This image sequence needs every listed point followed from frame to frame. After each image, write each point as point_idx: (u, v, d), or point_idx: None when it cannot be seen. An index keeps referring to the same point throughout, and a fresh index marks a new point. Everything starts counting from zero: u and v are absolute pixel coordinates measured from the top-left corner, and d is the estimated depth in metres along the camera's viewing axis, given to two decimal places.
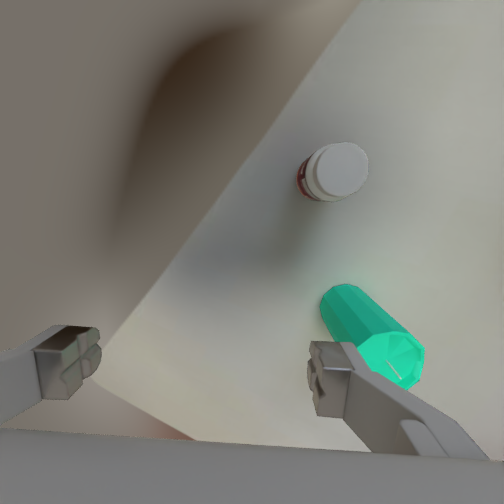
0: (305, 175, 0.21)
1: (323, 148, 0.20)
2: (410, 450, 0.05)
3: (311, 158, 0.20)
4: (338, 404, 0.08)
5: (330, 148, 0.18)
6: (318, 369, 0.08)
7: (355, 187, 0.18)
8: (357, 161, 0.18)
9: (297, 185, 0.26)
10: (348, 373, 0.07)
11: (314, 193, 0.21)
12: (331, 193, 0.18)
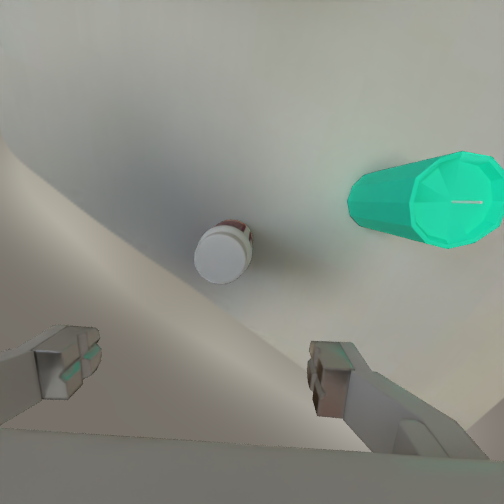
0: None
1: None
2: (410, 450, 0.05)
3: None
4: (338, 404, 0.08)
5: (200, 273, 0.18)
6: (318, 369, 0.08)
7: (236, 246, 0.18)
8: (211, 246, 0.18)
9: None
10: (348, 373, 0.07)
11: (244, 270, 0.20)
12: (242, 269, 0.18)
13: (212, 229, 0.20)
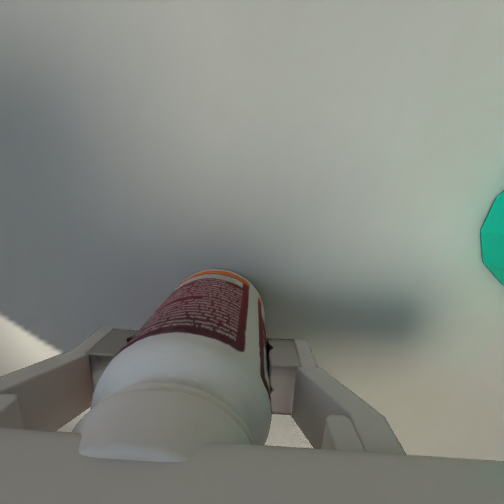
0: None
1: None
2: (331, 444, 0.05)
3: None
4: (287, 400, 0.08)
5: None
6: None
7: None
8: None
9: None
10: (294, 370, 0.07)
11: None
12: None
13: (136, 353, 0.06)
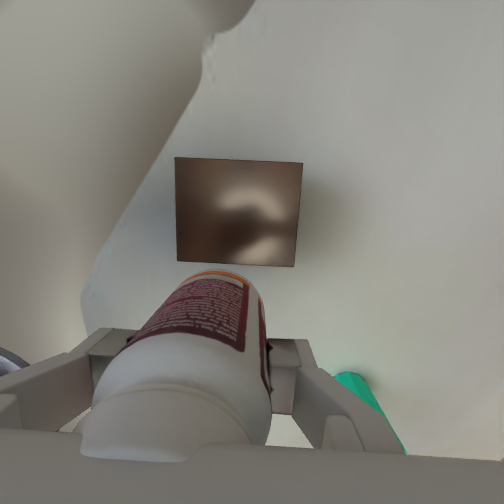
0: None
1: None
2: (331, 445, 0.05)
3: None
4: (288, 401, 0.08)
5: None
6: (268, 366, 0.08)
7: None
8: None
9: None
10: (294, 370, 0.07)
11: None
12: None
13: (136, 353, 0.06)
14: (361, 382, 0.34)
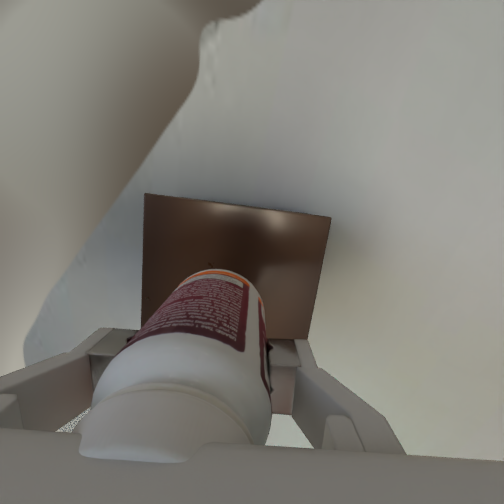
0: None
1: None
2: (331, 445, 0.05)
3: None
4: (288, 401, 0.08)
5: None
6: None
7: None
8: None
9: None
10: (294, 370, 0.07)
11: None
12: None
13: (136, 353, 0.06)
14: None
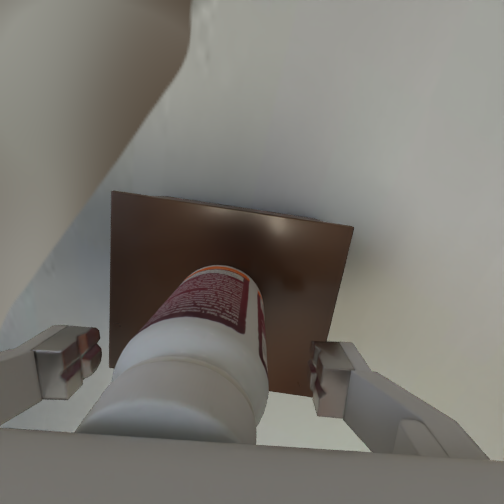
0: None
1: None
2: (410, 450, 0.05)
3: None
4: (338, 404, 0.08)
5: None
6: (318, 369, 0.08)
7: (218, 441, 0.05)
8: None
9: None
10: (348, 373, 0.07)
11: None
12: None
13: (151, 334, 0.07)
14: None
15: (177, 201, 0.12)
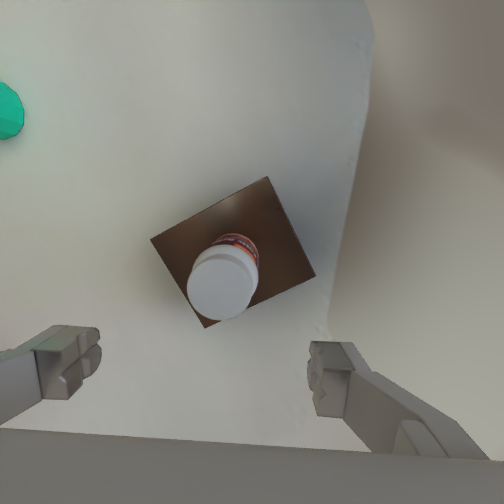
0: (202, 252, 0.16)
1: (237, 251, 0.16)
2: (410, 450, 0.05)
3: (220, 246, 0.16)
4: (339, 404, 0.08)
5: (228, 262, 0.14)
6: (317, 369, 0.08)
7: (213, 315, 0.15)
8: (237, 298, 0.14)
9: None
10: (348, 373, 0.07)
11: None
12: (189, 297, 0.14)
13: (251, 294, 0.17)
14: None
15: (284, 290, 0.23)
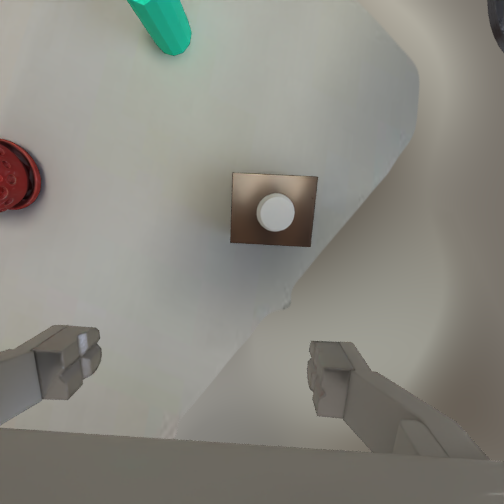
0: None
1: (290, 202, 0.29)
2: (410, 450, 0.05)
3: (284, 195, 0.29)
4: (338, 404, 0.08)
5: (289, 203, 0.27)
6: (317, 369, 0.08)
7: (266, 224, 0.28)
8: (282, 222, 0.27)
9: None
10: (348, 373, 0.07)
11: (261, 201, 0.29)
12: (261, 209, 0.27)
13: None
14: (161, 46, 0.36)
15: (288, 245, 0.37)
